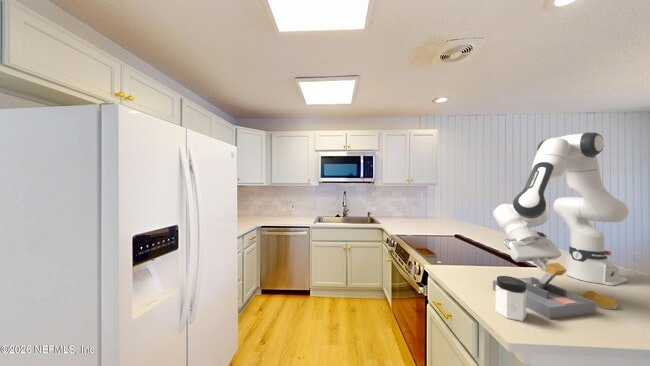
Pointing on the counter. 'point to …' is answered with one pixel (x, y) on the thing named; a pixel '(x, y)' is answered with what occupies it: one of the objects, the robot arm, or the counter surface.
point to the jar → (511, 298)
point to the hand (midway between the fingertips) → (548, 270)
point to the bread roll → (600, 300)
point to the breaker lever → (550, 275)
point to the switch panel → (555, 301)
